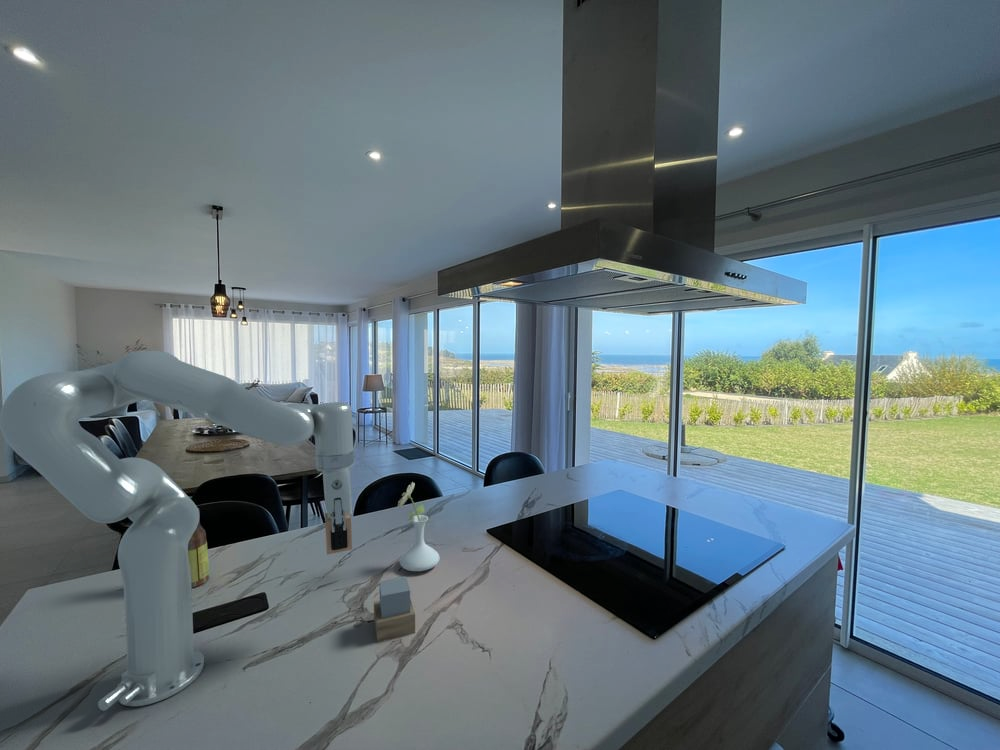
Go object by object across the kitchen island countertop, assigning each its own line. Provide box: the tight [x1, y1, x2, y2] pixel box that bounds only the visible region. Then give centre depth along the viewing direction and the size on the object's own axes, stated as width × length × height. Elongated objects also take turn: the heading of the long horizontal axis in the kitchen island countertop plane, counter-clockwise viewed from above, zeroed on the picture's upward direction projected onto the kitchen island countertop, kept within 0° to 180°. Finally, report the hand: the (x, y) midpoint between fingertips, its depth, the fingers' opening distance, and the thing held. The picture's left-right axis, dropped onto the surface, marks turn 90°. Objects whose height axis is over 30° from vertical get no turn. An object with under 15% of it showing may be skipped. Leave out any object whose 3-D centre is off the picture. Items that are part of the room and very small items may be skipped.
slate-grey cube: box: [379, 576, 411, 618], centre depth 92 cm, size 6×6×5 cm
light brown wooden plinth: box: [373, 598, 416, 643], centre depth 92 cm, size 8×8×4 cm
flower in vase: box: [397, 481, 441, 572], centre depth 118 cm, size 13×11×25 cm
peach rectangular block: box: [324, 512, 353, 555], centre depth 89 cm, size 5×5×7 cm
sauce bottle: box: [188, 507, 210, 588], centre depth 109 cm, size 6×6×20 cm
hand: (339, 542), depth 89 cm, fingers closed on peach rectangular block, 4 cm apart
